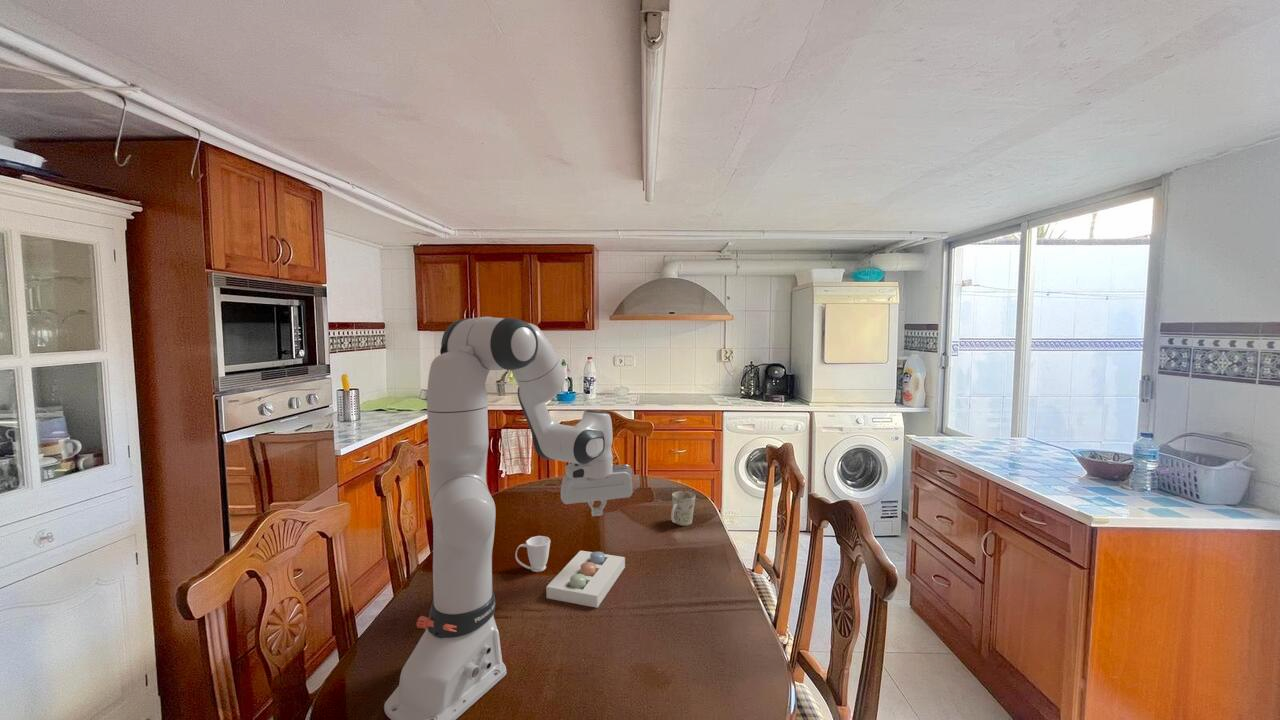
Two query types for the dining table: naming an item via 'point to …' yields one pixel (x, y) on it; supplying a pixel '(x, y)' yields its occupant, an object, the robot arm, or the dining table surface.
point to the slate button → (597, 558)
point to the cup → (536, 553)
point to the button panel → (594, 585)
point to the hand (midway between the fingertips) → (597, 515)
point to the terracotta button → (588, 569)
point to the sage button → (578, 581)
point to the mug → (682, 507)
